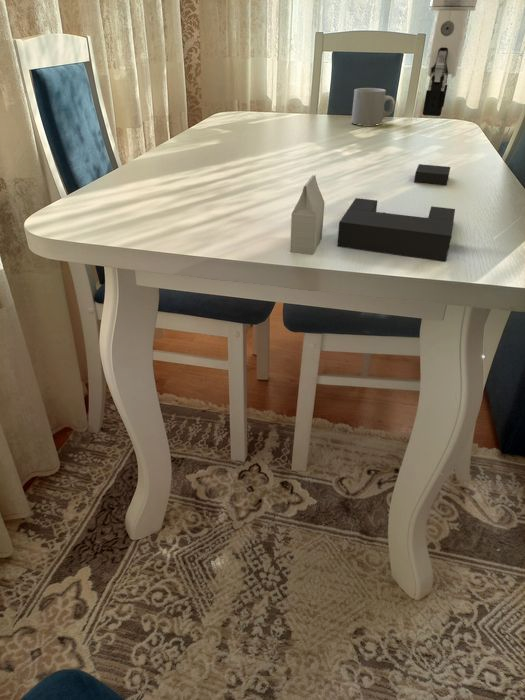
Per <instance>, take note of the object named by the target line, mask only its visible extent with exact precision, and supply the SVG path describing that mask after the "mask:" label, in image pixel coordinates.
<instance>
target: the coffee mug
mask: <svg viewBox="0 0 525 700" xmlns="http://www.w3.org/2000/svg"><path fill="white" fill-rule="evenodd" d="M386 93H387V90H386V89H384V88H378V87H377V88H376V87H360V88H355V89H354V90H353V102H352V111H351V122H352V123H355V124H361V125H376V124H380V123H382V124H383V122H382V121H383V119H384V118H386V117H388V116H390V115H392V113H393V112H394V110H395V107H396V102H395V99H394V97H393V96H391V95H386ZM387 101H389V104H390V105H389V106H390V107H389V109H388V110H385V104H386V102H387ZM351 122H350V123H351Z"/></svg>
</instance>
